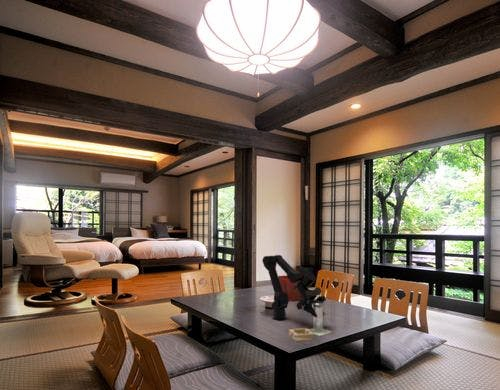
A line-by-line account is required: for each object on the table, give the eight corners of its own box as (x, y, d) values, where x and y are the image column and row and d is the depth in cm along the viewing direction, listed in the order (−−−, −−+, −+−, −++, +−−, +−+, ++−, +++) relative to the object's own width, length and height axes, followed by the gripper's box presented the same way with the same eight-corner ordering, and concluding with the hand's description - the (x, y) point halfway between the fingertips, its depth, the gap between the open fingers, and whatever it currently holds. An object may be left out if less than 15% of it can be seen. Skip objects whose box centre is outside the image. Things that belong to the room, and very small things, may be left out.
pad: (305, 331, 174) (305, 330, 174) (317, 328, 180) (317, 327, 180) (319, 336, 166) (319, 335, 166) (332, 332, 172) (332, 331, 172)
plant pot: (278, 297, 256) (277, 275, 258) (301, 296, 260) (300, 274, 261) (284, 302, 238) (284, 279, 239) (309, 301, 241) (309, 278, 243)
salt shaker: (312, 329, 171) (312, 303, 172) (313, 325, 176) (312, 301, 178) (323, 330, 169) (323, 304, 170) (323, 326, 175) (323, 302, 176)
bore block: (288, 335, 168) (288, 329, 168) (306, 333, 170) (306, 327, 171) (295, 342, 158) (295, 335, 159) (314, 340, 161) (314, 334, 161)
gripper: (299, 284, 173) (316, 310, 163) (323, 280, 184) (339, 304, 174) (289, 296, 178) (304, 322, 168) (313, 292, 189) (328, 316, 179)
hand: (320, 316), depth 172 cm, fingers closed on salt shaker, 5 cm apart
